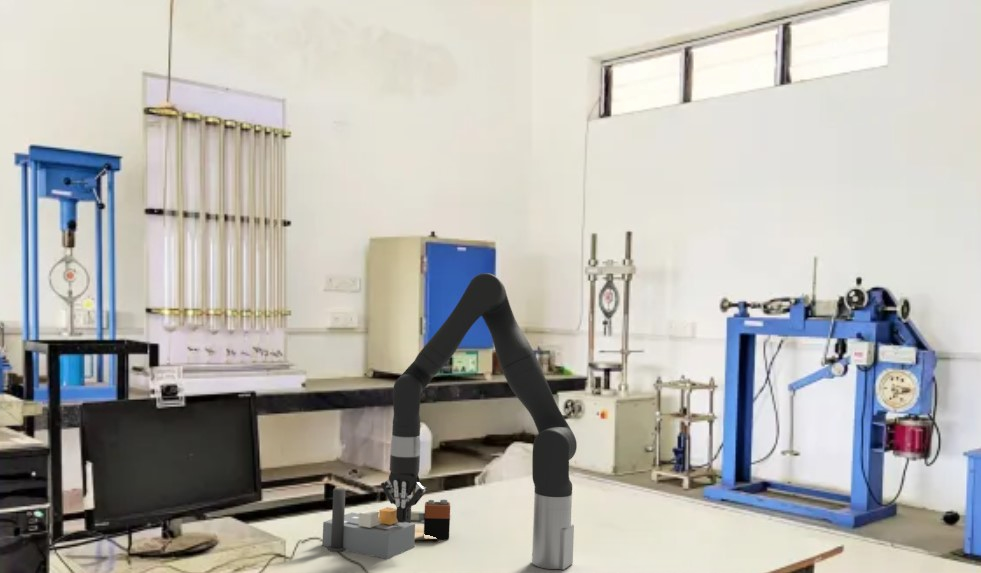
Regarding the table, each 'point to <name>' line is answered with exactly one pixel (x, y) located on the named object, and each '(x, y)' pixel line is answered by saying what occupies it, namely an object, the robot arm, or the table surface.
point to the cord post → (337, 520)
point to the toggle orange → (388, 516)
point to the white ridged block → (368, 518)
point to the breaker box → (373, 537)
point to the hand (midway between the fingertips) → (402, 521)
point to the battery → (437, 519)
